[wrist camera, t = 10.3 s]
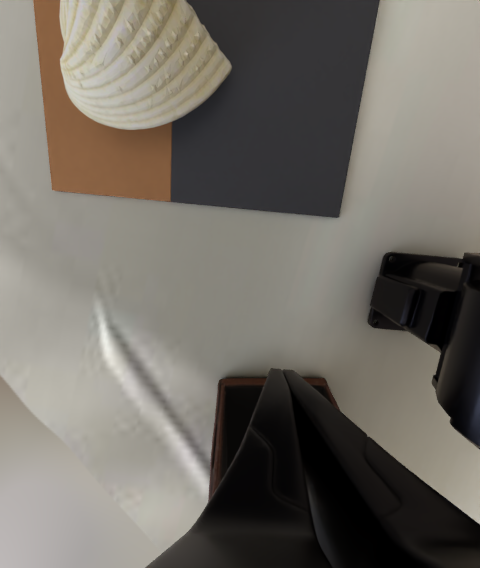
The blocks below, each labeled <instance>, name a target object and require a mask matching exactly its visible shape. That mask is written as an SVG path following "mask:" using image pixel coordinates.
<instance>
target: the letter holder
mask: <svg viewBox="0 0 480 568" xmlns="http://www.w3.org/2000/svg"><path fill="white" fill-rule="evenodd" d="M266 379H267V378H225V379H221V380H219V383H218V393H217V404H216V413H215V424H214V432H213V441H212V452H211V462H210V484H209V500H208V502H209V501H210V499H211V497H212V496H213V494H214V492H215V491H216V489H217V487H218V485H219V484H220V482H221V480H222V479H223V477H224V475H225V474H226V472H227V470H228V468H229V467H230V465H231V463H232V461H233V459H234V458H235V456H236V454H237V452H238V450H239V448H240V446H241V443H242V441H243V439H244V436H245V434H246V431H247V428H248V426H249V424H250V421H251V418H252V416H253V413H254V411H255V408H256V405H257V403H258V400H259V397H260V395H261V392H262V390H263V387H264V384H265V382H266ZM303 379H304V380H305V381H306V382H307V383H309V384H310V385H311V386H312V387H313V388H314V389H315V390H317V391H318V392H319V393H320V394H321V395H322V396H323V397H325V398H326V399H327V400H328V401H329V402H330V403H331V404H333V405H334V406H335V407H336V408H337V409H338V410H339V407H338V405H337V403H336V401H335V399H334V397H333V395H332V393H331V391H330V388H329V387H328V384H327V382H326V380H325V379H324V378H303ZM339 411H340V410H339Z"/></svg>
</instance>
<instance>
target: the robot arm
mask: <svg viewBox="0 0 480 568" xmlns="http://www.w3.org/2000/svg"><path fill="white" fill-rule="evenodd" d="M391 256H392V260H391V261H389V258H390V257H391ZM458 263H459V265H458V267H457V264H458ZM375 320H377V321H376V323H373V322H374V321H375ZM368 324H369V325H370V326H372V327H373V328H380V329H391V330H402V331H408V332H410V333H411V334H413V335H415V336H416V337H418V338H419V339H421V340H422V341H424V342H425V343H427V344H428V345H430V346H431V347H433V348H434V349H436V350H437V351H439V352H440V353H441V356H440V359H439V363H438V367H437V371H436V375H433V379H432V385H433V386H434V388H435V390H436V391H435V392H436V396H437V400H438V403H439V404H440V405H441V406H442V408H443V409H444V410H445V412H446V413H447V414H448V415H449V416H450V417H451V419H450V424H451V425H452V426H453V427H454V429H455V430H456V431H458V432H459V433H460V434H461V435H462V436H464V437H465V438H466V439H467V440H468V441H470V442H471V443H473V444H474V445H475V446H476V447H477V448H479V449H480V253H464V256H463V259H460V258H450V257H440V256H429V255H418V254H408V253H397V252H388V253H386V254H385V255H384V257H383V261H382V265H381V269H380V273H379V276H378V277H377V280H376V284H375V288H374V292H373V296H372V300H371V310H370V314H369V318H368ZM145 568H480V524H478V523H477V522H476V521H474V520H473V519H472V518H470V517H469V516H468V515H467V514H465V513H464V512H463V511H461V510H460V509H459V508H457V507H456V506H455V505H454V504H452V503H451V502H450V501H448V500H447V499H446V498H444V497H443V496H442V495H441V494H439V493H438V492H437V491H435V490H434V489H433V488H432V487H430V486H429V485H428V484H426V483H425V482H424V481H422V480H421V479H420V478H419V477H417V476H416V475H415V474H414V473H412V472H411V471H410V470H409V469H407V468H406V467H405V466H403V465H402V464H401V463H400V462H398V461H397V460H396V459H395V458H394V457H392V456H391V455H390V454H389V453H388V452H387V451H385V450H384V449H383V448H382V447H381V446H380V445H378V444H377V443H376V442H375V441H374V440H373V439H371V438H370V437H367V434H366V433H365V432H363V431H362V430H361V429H360V428H359V427H358V426H357V425H355V424H354V423H353V422H352V421H351V420H350V419H349V418H347V417H346V416H345V415H344V414H343V413H342V412H341V411H339V410H338V409H337V408H336V407H335V406H334V405H333V404H331V403H330V402H329V401H328V400H327V399H326V398H325V397H323V396H322V395H321V394H320V393H319V392H318V391H317V390H315V389H314V388H313V387H312V386H311V385H310V384H309V383H307V382H306V381H305V380H304V379H303V378H302V377H301V376H299V375H298V374H297V373H296V372H295V371H293V370H285V369H284V370H281V369H273V368H271V369H270V371H269V374H268V376H267V379H266V382H265V384H264V387H263V390H262V392H261V395H260V397H259V400H258V403H257V405H256V408H255V411H254V413H253V416H252V418H251V421H250V424H249V426H248V428H247V431H246V434H245V436H244V439H243V441H242V443H241V446H240V448H239V450H238V452H237V454H236V456H235V458H234V459H233V461H232V463H231V465H230V467H229V468H228V470H227V472H226V474H225V475H224V477H223V479H222V480H221V482H220V484H219V485H218V487H217V489H216V491H215V492H214V494H213V496H212V497H211V499H210V501H209V502H208V504H207V506H206V507H205V509H204V511H203V512H202V514H201V515H200V517H199V518H198V520H197V521H196V523H195V524H194V525H193V526H192V528H191V529H190V530H189V531H188V532H187V533H186V534H185V535H184V536H183V537H181V538H180V539H179V540H178V541H177V542H175V543H174V544H173V545H172V546H171V547H169V548H168V549H167V550H166V551H165V552H163V553H162V554H161V555H160V556H159V557H157V558H156V559H155V560H154V561H153V562H151V563H150V564H149V565H148V566H147V567H145Z"/></svg>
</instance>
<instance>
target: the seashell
mask: <svg viewBox="0 0 480 568" xmlns="http://www.w3.org/2000/svg"><path fill="white" fill-rule="evenodd" d="M59 17H60V27H61V32H62V37H63V40H64V48H63V54H62V56H61V58H60V66H61V71H62V75H63V78H64V84H65V89H66V91H67V94H68V96H69V98H70V99H71V101H72V102H73V104H74V105H75V106H76V107H77V108H78V109H79V110H80V111H81V112H82V113H84V114H85V115H86V116H87V117H89V118H91V119H93V120H94V121H96V122H98V123H101V124H103V125H106V126H110V127H114V128H118V129H127V130H137V129H147V128H153V127H157V126H161V125H164V124H167V123H170V122H172V121H175V120H177V119H179V118H181V117H183V116H185V115H186V114H188V113H189V112H191V111H193V110H194V109H196V108H197V107H198V106H199V105H201V104H202V103H203V102H205V101H206V100H207V99H208V98H209V97H210V96H211V95H212V94H213V93H214V92H215V91H216V90H217V89H218V87H219V86H220V85H221V83H222V82H223V81H224V80H225V79H226V77H227V76H228V75H229V74H230V71H231V69H232V66H231V63H230V61H229V60H228V59H227V58H226V57H225V55H224V54H223V53H222V52H221V51H220V50H219V47H218V45H217V43H215V42H214V41H213V40H212V38H211V37H210V35H209V33H208V32H207V30H206V29H205V26H204V25H202V24H201V23H200V21H199V19H198V17H197V15H196V13H195V11H194V10H193V8H192V6H190V5H189V4H188V3H187V2H186V0H60V15H59Z"/></svg>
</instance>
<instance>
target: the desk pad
mask: <svg viewBox="0 0 480 568" xmlns="http://www.w3.org/2000/svg"><path fill="white" fill-rule="evenodd" d="M379 1H380V0H186V2H187V3H188V4H189V5H190V6H192V8H193V10H194V11H195V13H196V15H197V17H198V19H199V21H200V23H201V24H202V25H204V26H205V29H206V30H207V32H208V33H209V35H210V37H211V38H212V40H213V41H214V42H215V43H217V45H218V47H219V50H220V51H221V52H222V53H223V54H224V55H225V57H226V58H227V59H228V60H229V61H230V63H231V66H232V69H231V71H230V74H229V75H228V76H227V77H226V79H225V80H224V81H223V82H222V83H221V85H220V86H219V87H218V89H217V90H216V91H215V92H214V93H213V94H212V95H211V96H210V97H209V98H208V99H207V100H206V101H205V102H203V103H202V104H201V105H199V106H198V107H197V108H196V109H194V110H193V111H191V112H189V113H188V114H186V115H185V116H183V117H181V118H179V119H177V120H175V121H172V122H170V123H167V124H164V125H161V126H157V127H153V128H147V129H137V130H127V129H118V128H114V127H110V126H106V125H103V124H101V123H98V122H96V121H94V120H93V119H91V118H89V117H87V116H86V115H85V114H84V113H82V112H81V111H80V110H79V109H78V108H77V107H76V106H75V105H74V104H73V102H72V101H71V99H70V98H69V96H68V94H67V91H66V89H65V84H64V78H63V75H62V71H61V66H60V58H61V56H62V54H63V48H64V40H63V37H62V32H61V27H60V17H59V15H60V0H33V2H34V12H35V22H36V32H37V42H38V52H39V62H40V72H41V82H42V92H43V102H44V112H45V122H46V132H47V143H48V153H49V163H50V173H51V183H52V190H55V191H64V192H74V193H85V194H95V195H106V196H116V197H127V198H137V199H148V200H158V201H169V202H179V203H190V204H200V205H211V206H221V207H232V208H242V209H253V210H263V211H274V212H284V213H295V214H305V215H316V216H326V217H336V218H337V217H339V213H340V208H341V203H342V197H343V192H344V187H345V182H346V176H347V171H348V166H349V160H350V155H351V150H352V144H353V139H354V134H355V128H356V123H357V118H358V112H359V107H360V102H361V97H362V91H363V86H364V81H365V75H366V70H367V65H368V59H369V54H370V49H371V43H372V38H373V33H374V28H375V22H376V17H377V12H378V6H379Z"/></svg>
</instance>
